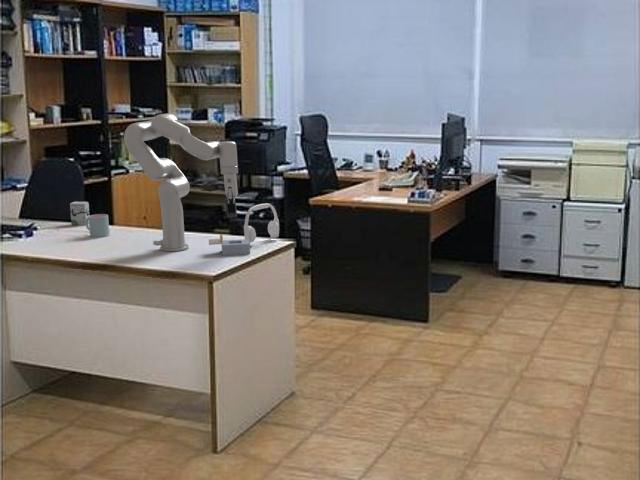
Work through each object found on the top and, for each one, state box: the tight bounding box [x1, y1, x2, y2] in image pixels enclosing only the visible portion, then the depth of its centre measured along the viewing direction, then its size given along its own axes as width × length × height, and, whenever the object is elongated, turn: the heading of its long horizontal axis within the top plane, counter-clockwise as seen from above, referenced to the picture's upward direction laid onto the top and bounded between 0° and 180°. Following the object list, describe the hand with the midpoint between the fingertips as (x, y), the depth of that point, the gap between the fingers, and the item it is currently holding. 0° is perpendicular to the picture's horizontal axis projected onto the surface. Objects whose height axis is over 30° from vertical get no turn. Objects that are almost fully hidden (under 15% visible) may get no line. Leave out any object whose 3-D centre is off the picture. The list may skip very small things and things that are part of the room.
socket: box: [221, 238, 251, 256], centre depth 363 cm, size 12×10×4 cm
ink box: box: [69, 201, 90, 226], centre depth 437 cm, size 9×5×12 cm, turn 81°
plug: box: [224, 197, 238, 219], centre depth 361 cm, size 4×4×9 cm
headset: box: [243, 202, 280, 244], centre depth 382 cm, size 20×7×18 cm, turn 138°
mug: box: [85, 213, 110, 239], centre depth 406 cm, size 14×9×10 cm
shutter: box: [208, 233, 224, 246], centre depth 361 cm, size 6×8×3 cm
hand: (232, 211), depth 361 cm, fingers closed on plug, 3 cm apart
